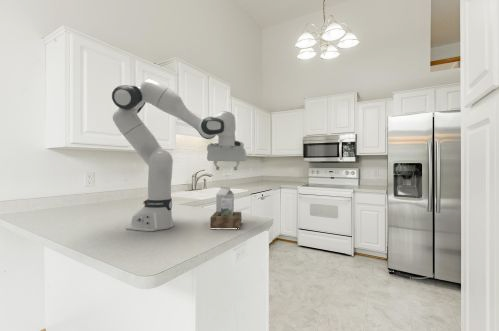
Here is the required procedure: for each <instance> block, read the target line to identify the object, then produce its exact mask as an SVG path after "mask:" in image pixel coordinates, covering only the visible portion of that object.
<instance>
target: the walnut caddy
mask: <svg viewBox="0 0 499 331" xmlns="http://www.w3.org/2000/svg"><path fill="white" fill-rule="evenodd" d="M209 220H210V222H209V223H210V226H209V227H210V228H237V229H238V228H239V226H240V227H241V225H242V211H234V212H233V216H221V212H216V211H215V212H213V214H212V215H211V216H210V218H209ZM240 224H241V225H240ZM239 229H240V228H239Z"/></svg>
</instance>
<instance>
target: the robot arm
mask: <svg viewBox="0 0 499 331" xmlns="http://www.w3.org/2000/svg"><path fill="white" fill-rule="evenodd" d="M111 100H112V102H113V103H114V105H115V106H116V107H118V109H117V110H116V111H115V112H114V113H113V114H112V121H113V122H114V125H115V126H116V128H117V129H118V131H119V132H120V134H122V137H124V138H125V139H126V140H127V142H128V143H129V144H130V145H131V147H132V148H133V149H134V150H135V151H136V152H137V154H138V155H139V156H140V157H141V158H142V160H143V161H144V163H146V164H147V166H148V179H147V199H145V200H143V201H142V204H143V205H144V206H143V207H142V208H141V209H140V210H137V212H135V213H134V214H133V215H132V218H131V222H130V223H129V224H128V225H126V228H125V229H126V230H131V231H132V230H133V231H140V232H141V231H143V232H155V231H161V230H167V229H171V228H173V227H174V226H175V224H174V220H173V214H172V210H173V199H172V178H173V176H172V175H173V166H174V165H173V162H174V160H173V159H174V158H173V156H172V155H171V153H170V152H169V151H167V150H165V149H164V148H163V147H162V146H161V145H160V143H159V141H158V140H157V139H156V138H155V135H154V134H153V133H152V132H151V130H150V129H149V128H148V127H147V126H146V124H145V123H144V122H143V120H141V118H140V117H139V115H138V113H140V112H141V111H142V109H143V107H144V106H145V105H146V103H147V104H150V105H152V106H154V107H156V108H157V109H159V110H161V111H162V112H164V113H166V114H168V115H171V116H173V117H175V118H178V119H179V120H182V121H183V122H185V123H187V125H189V126H191V127H192V128H194V129H195V130H196V131H197V132H198V133H199V136H201V138H203V139H205V140H212V139H214V138H215V137H216V136H217V137H218V139H217V140H218V141H217V143H215V142H214V143H212V142H211V143H209V144H208V145H207V146H206V150H207V157H206V160H207V161H209V162H213V164H214V166H215V170H216V171H219V170H220V166H218V162H236V165H235V166H233V170H234V171H237V170H238V167H239V165H240V162H245V161H246V160H247V154H246V149H245V148H244V146H245V144H244V142H242V141H239V140H236V134H235V133H236V131H237V130H236V126H237V125H236V117H235V115H234V114H233V113H232V112H230V111H226V110H225V111H224V110H223V111H220V112H219V113H216V114H215V115H211V116H206V117H205V118H203V119H202V117H200V116H198V115H197V114H195V113H194V112H192V111H191V110H189V109H188V108H187V106H186V105H185V103H184V102H183V99H182V97H181V96H180V95H179V94H177V93H176V92H175V91H174V90H172V88H170V87H168V86H166V85H164V84H163V83H160V82H159V81H156V80H154V79H150V78H146V79H145V80H143V81H142V82H141V84H140V85H139V86H137V85H130V84H129V85H128V84H127V85H125V84H124V85H119V86H117V87H115V88H114V89H113V91H112V93H111Z"/></svg>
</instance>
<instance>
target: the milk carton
mask: <svg viewBox="0 0 499 331" xmlns="http://www.w3.org/2000/svg"><path fill="white" fill-rule="evenodd" d="M234 194H235V193H234V192H233V191H232V190H231V187H227V186H220V189H219V190H218V191H217V193H216V206H215V207H216V209H215V210H216V211H215V212H221V199H222V198H233V212H235V211H234V208H235V206H234V205H235V202H234V201H235V198H234V197H235V195H234Z"/></svg>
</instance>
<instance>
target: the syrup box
mask: <svg viewBox="0 0 499 331" xmlns="http://www.w3.org/2000/svg"><path fill="white" fill-rule="evenodd" d="M221 216H233V198H222V199H221Z"/></svg>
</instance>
